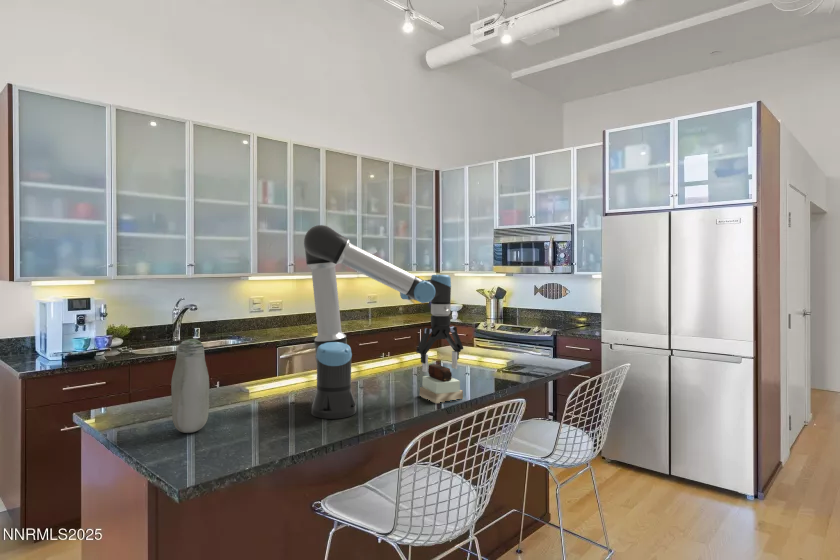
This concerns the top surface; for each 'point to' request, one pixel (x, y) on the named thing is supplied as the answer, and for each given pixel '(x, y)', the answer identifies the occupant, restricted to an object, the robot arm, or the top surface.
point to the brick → (439, 372)
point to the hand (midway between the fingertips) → (439, 369)
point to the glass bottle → (190, 387)
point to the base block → (440, 395)
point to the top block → (441, 385)
